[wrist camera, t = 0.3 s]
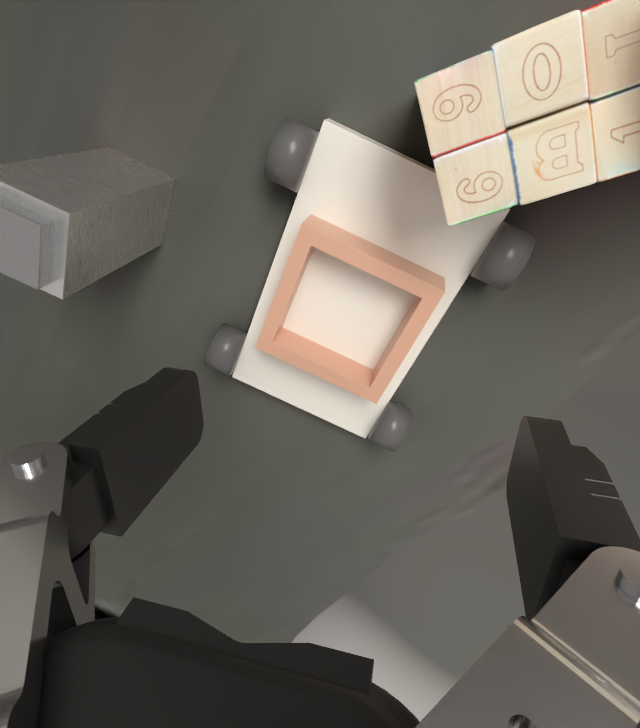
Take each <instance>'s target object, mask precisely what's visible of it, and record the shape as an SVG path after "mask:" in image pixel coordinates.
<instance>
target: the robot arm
mask: <svg viewBox="0 0 640 728" xmlns="http://www.w3.org/2000/svg"><path fill="white" fill-rule="evenodd" d="M202 431H203V416H202V408H201V399H200V391H199V383H198V378H197V375H196V373H195V372H194V371H189V370H182V369H174V368H163V369H162V370H160V371H159V372H158V373H157V374H155V375H154V376H153V377H152V378H150V379H149V380H148V381H147V382H145V383H143V384H140V385H138V386H136V387H134V388H131V389H129V390H127V391H125V392H123V393H122V394H121V395H120V396H118V397H117V398H116V399H114V400H113V401H112V402H111V404H110V405H109V404H108V405H107V406H105V407H104V408H103V409H102V410H100V411H99V414H95V415H94V416H93V417H91V418H90V419H89V420H87V421H86V422H85V423H84V424H82V425H81V426H80V427H78V428H77V429H76V430H75V431H73V432H72V433H71V434H69V435H68V436H67V437H66V438H64V439H63V440H62V441H60V442H59V443H53V442H40V443H33V444H29V445H25V446H22V447H19V448H17V449H14V450H12V451H10V452H8V453H6V454H5V455H3V456H2V457H0V728H640V539H639V536H638V535H637V532H636V530H635V528H634V526H633V524H632V522H631V520H630V517H629V516H628V514H627V511H626V509H625V507H624V505H623V503H622V501H620V500H619V495H618V492H617V490H616V489H615V486H614V485H612V480H611V478H610V476H609V474H608V471H607V469H606V467H605V465H604V464H603V463H602V462H601V461H600V460H599V459H598V458H597V457H596V456H595V455H594V454H593V453H592V452H591V451H589V450H588V449H587V448H586V447H581V446H574V445H571V443H570V441H569V438H568V436H567V433H566V431H565V428H564V426H563V423H562V422H561V421H558V420H551V419H543V418H536V417H528V416H524V417H523V418H522V420H521V423H520V427H519V431H518V435H517V439H516V443H515V447H514V451H513V455H512V459H511V463H510V467H509V472H508V478H507V502H508V508H509V514H510V521H511V527H512V533H513V539H514V545H515V551H516V557H517V564H518V570H519V576H520V583H521V589H522V595H523V600H524V607H525V614H526V617H525V616H521V617H519V618H518V619H516V620H515V621H514V622H513V623H512V624H511V625H510V626H509V627H508V628H507V629H506V630H505V631H504V632H503V633H502V634H501V636H500V637H499V638H498V639H497V640H496V641H495V642H494V643H493V644H492V645H491V646H490V647H489V648H488V649H487V651H486V652H485V653H484V654H483V655H482V656H481V657H480V658H479V659H478V660H477V662H475V663H474V665H473V666H472V667H471V668H470V669H469V670H468V671H467V672H466V673H465V674H464V675H463V676H462V677H461V679H460V680H459V681H458V682H457V683H456V684H455V685H454V686H453V687H452V688H451V690H449V692H448V693H447V694H446V695H445V696H444V697H443V698H442V699H441V700H440V701H439V702H438V703H437V705H435V707H434V708H433V709H432V710H431V711H430V712H429V713H428V714H427V715H426V716H425V717H424V718H423V719H422V721H421V722H419V720H418V719H417V718H416V717H415V716H414V715H413V714H412V713H411V712H410V711H409V710H408V709H407V708H406V707H405V706H404V705H403V704H402V703H401V702H400V701H399V700H397V699H396V698H395V697H393V696H392V695H391V694H389V693H388V692H387V691H385V690H384V689H382V688H380V687H379V686H377V685H375V684H374V683H372V674H373V664H374V660H373V659H369V658H366V657H362V656H358V655H354V654H350V653H346V652H342V651H338V650H335V649H330V648H327V647H322V646H319V645H315V644H311V643H240V642H237V641H235V640H233V639H231V638H230V637H228V636H227V635H225V634H223V633H222V632H220V631H219V630H217V629H215V628H214V627H212V626H210V625H209V624H207V623H206V622H204V621H202V620H201V619H199V618H197V617H196V616H194V615H193V614H191V613H189V612H188V611H184V610H180V609H177V608H173V607H169V606H165V605H161V604H157V603H153V602H150V601H146V600H142V599H138V598H134V597H133V599H132V600H131V602H130V603H129V605H128V606H127V607H126V609H125V610H124V612H123V613H122V615H121V616H120V617H113V618H106V619H99V620H95V621H94V603H95V545H94V542H93V539H94V538H95V537H96V536H97V535H98V533H99V532H103V533H108V534H112V535H116V536H122V535H123V534H124V533H125V532H126V530H127V529H128V528H129V527H130V526H131V524H132V523H133V522H134V521H135V520H136V518H137V517H138V516H139V515H140V513H141V512H142V511H143V510H144V509H145V507H146V506H147V505H148V504H149V503H150V501H151V500H152V499H153V498H154V496H155V495H156V494H157V493H158V492H159V490H160V489H161V488H162V487H163V486H164V484H165V483H166V482H167V481H168V480H169V478H170V477H171V476H172V475H173V473H174V472H175V471H176V470H177V469H178V467H179V466H180V465H181V464H182V463H183V461H184V460H185V459H186V458H187V457H188V455H189V454H190V453H191V452H192V450H193V449H194V448H195V447H196V446H197V444H198V442H199V441H200V438H201V435H202Z"/></svg>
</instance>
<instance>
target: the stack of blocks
mask: <svg viewBox="0 0 640 728" xmlns="http://www.w3.org/2000/svg"><path fill="white" fill-rule="evenodd" d="M414 83H415V88H416V92H417V96H418V101H419V105H420V109H421V114H422V118H423V123H424V127H425V131H426V136H427V140H428V144H429V149H430V153H431V156H432V158H433V163H434V167H435V171H436V176H437V180H438V185H439V189H440V194H441V198H442V202H443V207H444V211H445V216H446V220H447V224H448V226H453V225H457V224H460V223H463V222H466V221H470V220H473V219H476V218H479V217H482V216H486V215H489V214H493V213H496V212H499V211H502V210H505V209H508V208H511V207H513V206H515V205H525V204H529V203H532V202H535V201H539V200H542V199H545V198H548V197H552V196H555V195H558V194H561V193H565V192H568V191H571V190H574V189H578V188H581V187H584V186H588V185H591V184H594V183H596V182H601V181H605V180H610V179H612V178H615V177H619V176H622V175H626V174H629V173H632V172H635V171H638V170H640V0H607V1H604V2H602V3H599V4H597V5H594V6H592V7H590V8H587V9H585V10H582V11H580V10H574V11H572V12H569V13H567V14H564V15H562V16H559V17H557V18H554V19H552V20H549V21H547V22H544V23H542V24H540V25H537V26H535V27H532V28H530V29H528V30H525V31H523V32H521V33H518V34H516V35H514V36H511V37H509V38H507V39H504V40H502V41H500V42H497V43H495V44H493V45H492V46H491V47H490V49H489V50H488V51H486V52H483V53H481V54H478V55H476V56H474V57H471V58H469V59H466V60H464V61H462V62H459V63H457V64H454V65H452V66H449V67H447V68H445V69H442V70H440V71H437V72H435V73H432V74H430V75H428V76H425V77H423V78H420V79H418V80H416V81H415V82H414Z"/></svg>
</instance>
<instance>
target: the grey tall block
mask: <svg viewBox="0 0 640 728" xmlns="http://www.w3.org/2000/svg"><path fill="white" fill-rule="evenodd" d="M175 182H176V178H174V177H172V176H170V175H168V174H166V173H163V172H161V171H159V170H157V169H155V168H153V167H151V166H149V165H147V164H145V163H142V162H140V161H138V160H136V159H134V158H132V157H130V156H128V155H126V154H123V153H121V152H119V151H117V150H115V149H113V148H111V147H106V148H99V149H93V150H87V151H81V152H75V153H69V154H62V155H56V156H50V157H44V158H38V159H32V160H25V161H19V162H13V163H7V164H1V165H0V272H1V273H3V274H5V275H7V276H9V277H11V278H14V279H16V280H18V281H20V282H22V283H24V284H27V285H29V286H31V287H33V288H35V289H37V290H38V289H41V290H43V291H45V292H48V293H50V294H52V295H54V296H56V297H58V298H61V299H64V298H66V297H68V296H70V295H71V294H73V293H75V292H77V291H79V290H80V289H82V288H84V287H86V286H88V285H89V284H91V283H93V282H95V281H97V280H98V279H100V278H102V277H104V276H106V275H107V274H109V273H111V272H113V271H115V270H116V269H118V268H120V267H122V266H124V265H125V264H127V263H129V262H131V261H133V260H134V259H136V258H138V257H140V256H142V255H143V254H145V253H147V252H149V251H151V250H152V249H154V248H156V247H158V246H160V245H161V244H163V240H164V235H165V230H166V225H167V221H168V216H169V211H170V206H171V201H172V196H173V191H174V186H175Z"/></svg>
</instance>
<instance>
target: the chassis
mask: <svg viewBox="0 0 640 728" xmlns="http://www.w3.org/2000/svg"><path fill="white" fill-rule="evenodd" d="M264 175H265V178H266V179H269V180H271V181H273V182H275V183H277V184H279V185H281V186H283V187H285V188H287V189H290V190H292V191H294V192H296V193H297V192H298V194H297V197H296V200H295V203H294V205H293V208H292V211H291V214H290V216H289V219H288V222H287V225H286V228H285V230H284V233H283V236H282V239H281V242H280V244H279V247H278V250H277V253H276V256H275V258H274V261H273V264H272V267H271V270H270V272H269V275H268V278H267V281H266V284H265V286H264V289H263V292H262V295H261V297H260V300H259V303H258V306H257V309H256V311H255V314H254V317H253V320H252V323H251V325H250V328H249V331H248V333H246V332H243V331H241V330H239V329H237V328H235V327H233V326H231V325H228V324H226V323H224V324H223V325H222V326H221V327H220V328H219V330H218V331H217V333H216V334H215V336H214V338H213V340H212V342H211V344H210V346H209V349H208V351H207V354H206V357H205V365H206V366H209V367H211V368H213V369H215V370H217V371H219V372H222V373H224V374H226V375H228V376H230V375H231V374H232V373H233V372H234V373H233V376H232V377H233V378H236V379H238V380H240V381H242V382H244V383H246V384H249V385H251V386H253V387H255V388H257V389H259V390H262V391H264V392H266V393H268V394H270V395H272V396H274V397H277V398H279V399H281V400H283V401H285V402H287V403H290V404H292V405H294V406H296V407H298V408H300V409H303V410H305V411H307V412H309V413H311V414H313V415H316V416H318V417H320V418H322V419H324V420H326V421H328V422H331V423H333V424H335V425H337V426H339V427H341V428H344V429H346V430H348V431H350V432H352V433H354V434H357V435H359V436H361V437H363V438H366V437H367V435H368V434H369V436H368V440H369V441H371V442H373V443H375V444H377V445H379V446H381V447H384V448H386V449H388V450H390V451H392V452H393V451H395V450H396V449H397V448H398V447H399V446H400V444H401V443H402V441H403V439H404V438H405V436H406V434H407V431H408V429H409V426H410V423H411V419H412V410H411V409H409V408H406V407H404V406H402V405H400V404H398V403H396V402H394V401H391V400H390V399H391V397H392V396H393V394H394V393H395V391H396V389H397V388H398V386H399V385H400V383H401V381H402V380H403V378H404V377H405V375H406V374H407V372H408V370H409V369H410V367H411V366H412V364H413V362H414V361H415V359H416V358H417V356H418V355H419V353H420V351H421V350H422V348H423V347H424V345H425V343H426V342H427V340H428V339H429V337H430V336H431V334H432V332H433V331H434V329H435V328H436V326H437V324H438V323H439V321H440V320H441V318H442V317H443V315H444V313H445V312H446V310H447V309H448V307H449V305H450V304H451V302H452V301H453V299H454V298H455V296H456V294H457V293H458V291H459V290H460V288H461V286H462V285H463V283H464V282H465V280H466V279H467V277H468V275H469V274H470V275H471V276H472V277H474V278H476V279H478V280H480V281H482V282H485V283H487V284H489V285H491V286H493V287H495V288H497V289H499V290H504V289H506V288H508V287H509V286H510V285H511V284H512V283H513V282H514V281H515V280H516V279H517V277H518V276H519V275H520V273H521V272H522V270H523V269H524V267H525V266H526V264H527V262H528V260H529V258H530V256H531V254H532V251H533V248H534V245H535V237H534V236H533V235H531V234H529V233H527V232H525V231H523V230H521V229H519V228H517V227H515V226H513V225H511V224H508V223H506V222H504V221H503V220H504V218H505V217H506V215H507V214H508V212H509V211H510V208H508V209H505V210H502V211H499V212H496V213H493V214H489V215H486V216H482V217H479V218H476V219H473V220H470V221H466V222H463V223H460V224H457V225H453V226H448V224H447V220H446V216H445V211H444V207H443V202H442V198H441V194H440V189H439V185H438V180H437V176H436V171H435V169H433V168H431V167H429V166H427V165H425V164H422V163H420V162H418V161H416V160H414V159H412V158H410V157H408V156H406V155H404V154H402V153H400V152H398V151H396V150H393V149H391V148H389V147H387V146H385V145H383V144H381V143H379V142H377V141H375V140H373V139H371V138H369V137H367V136H364V135H362V134H360V133H358V132H356V131H354V130H352V129H350V128H348V127H346V126H344V125H342V124H340V123H338V122H335V121H333V120H331V119H325V120H324V122H323V124H322V127H321V130H320V133H319V132H317V131H315V130H313V129H311V128H309V127H307V126H305V125H303V124H301V123H299V122H297V121H295V120H293V119H290V118H288V117H287V118H285V119H284V120H283V121H282V123H281V124H280V126H279V128H278V129H277V131H276V133H275V136H274V138H273V140H272V143H271V146H270V148H269V151H268V155H267V159H266V163H265V170H264Z"/></svg>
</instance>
